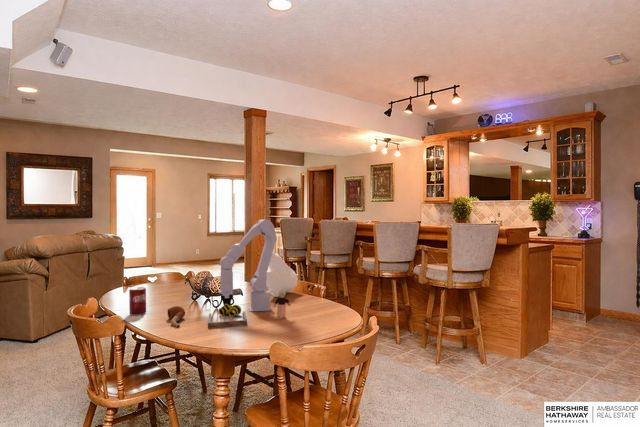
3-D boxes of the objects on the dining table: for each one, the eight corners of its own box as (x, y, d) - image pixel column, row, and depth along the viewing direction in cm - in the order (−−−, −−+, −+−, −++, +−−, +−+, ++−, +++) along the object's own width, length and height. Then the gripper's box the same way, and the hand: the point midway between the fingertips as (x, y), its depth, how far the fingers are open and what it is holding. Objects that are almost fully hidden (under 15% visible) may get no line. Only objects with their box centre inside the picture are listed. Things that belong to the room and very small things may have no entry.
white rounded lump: (283, 277, 260) (262, 248, 248) (304, 275, 251) (283, 244, 240) (266, 309, 241) (243, 278, 230) (288, 307, 233) (265, 275, 222)
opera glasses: (218, 317, 195) (216, 306, 194) (225, 312, 200) (224, 302, 199) (235, 319, 191) (233, 309, 190) (242, 314, 195) (240, 304, 194)
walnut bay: (245, 315, 194) (245, 311, 194) (247, 325, 178) (247, 320, 178) (209, 318, 190) (209, 313, 190) (207, 327, 174) (207, 323, 174)
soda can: (149, 312, 201) (149, 287, 201) (137, 316, 194) (136, 290, 194) (138, 311, 204) (138, 286, 204) (126, 314, 197) (125, 289, 197)
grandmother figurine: (275, 320, 186) (275, 291, 186) (272, 318, 189) (272, 290, 189) (291, 318, 189) (291, 289, 189) (288, 316, 193) (288, 288, 193)
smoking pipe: (183, 316, 194) (183, 304, 194) (190, 326, 177) (190, 312, 177) (167, 318, 190) (167, 306, 190) (172, 328, 174) (172, 314, 174)
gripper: (218, 279, 207) (218, 307, 207) (217, 284, 192) (218, 314, 192) (233, 279, 208) (233, 306, 208) (233, 284, 194) (233, 313, 194)
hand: (227, 310), depth 200 cm, fingers closed
